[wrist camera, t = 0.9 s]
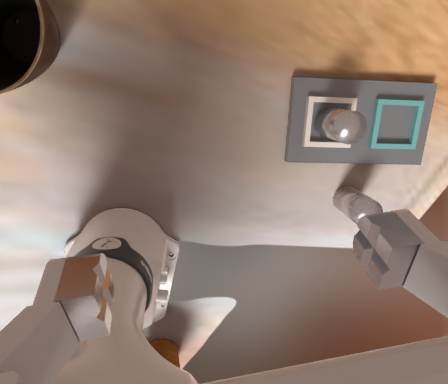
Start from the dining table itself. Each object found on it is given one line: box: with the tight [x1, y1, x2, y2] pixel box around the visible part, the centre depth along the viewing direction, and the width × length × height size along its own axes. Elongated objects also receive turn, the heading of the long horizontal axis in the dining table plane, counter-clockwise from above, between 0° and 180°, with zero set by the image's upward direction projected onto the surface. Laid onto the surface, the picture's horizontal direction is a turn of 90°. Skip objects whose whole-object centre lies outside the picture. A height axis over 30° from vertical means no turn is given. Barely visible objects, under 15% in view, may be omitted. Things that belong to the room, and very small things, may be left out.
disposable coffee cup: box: [150, 339, 180, 368], centre depth 59 cm, size 10×10×12 cm
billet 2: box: [333, 186, 383, 224], centre depth 56 cm, size 4×4×8 cm
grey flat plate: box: [285, 77, 437, 165], centre depth 55 cm, size 13×23×2 cm, turn 88°
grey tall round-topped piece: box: [314, 108, 367, 144], centre depth 50 cm, size 4×4×8 cm
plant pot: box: [0, 0, 60, 94], centre depth 40 cm, size 15×15×16 cm
